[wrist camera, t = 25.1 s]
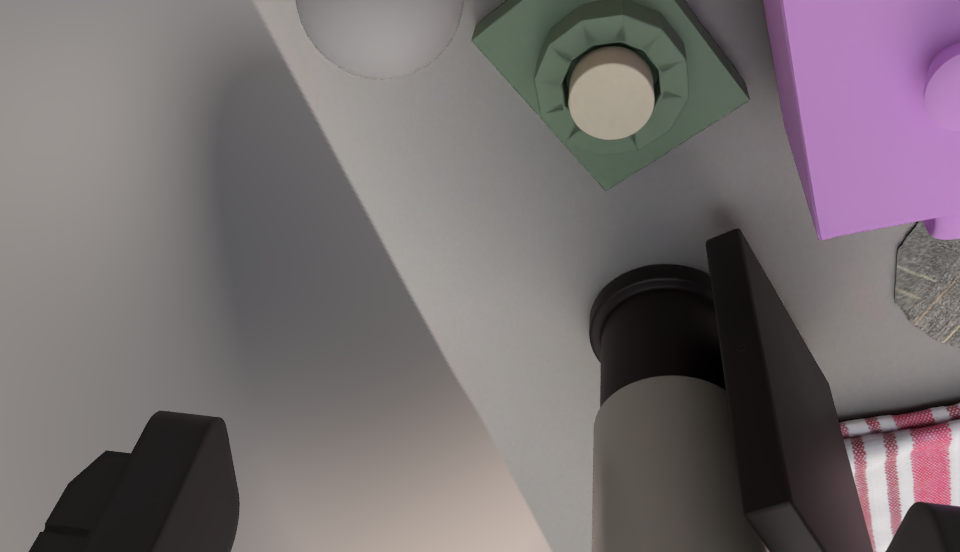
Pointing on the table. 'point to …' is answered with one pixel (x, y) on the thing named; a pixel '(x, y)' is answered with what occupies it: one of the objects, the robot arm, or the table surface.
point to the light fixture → (714, 418)
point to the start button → (611, 93)
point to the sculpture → (930, 284)
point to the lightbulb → (380, 33)
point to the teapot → (872, 110)
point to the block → (625, 23)
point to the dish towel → (903, 465)
